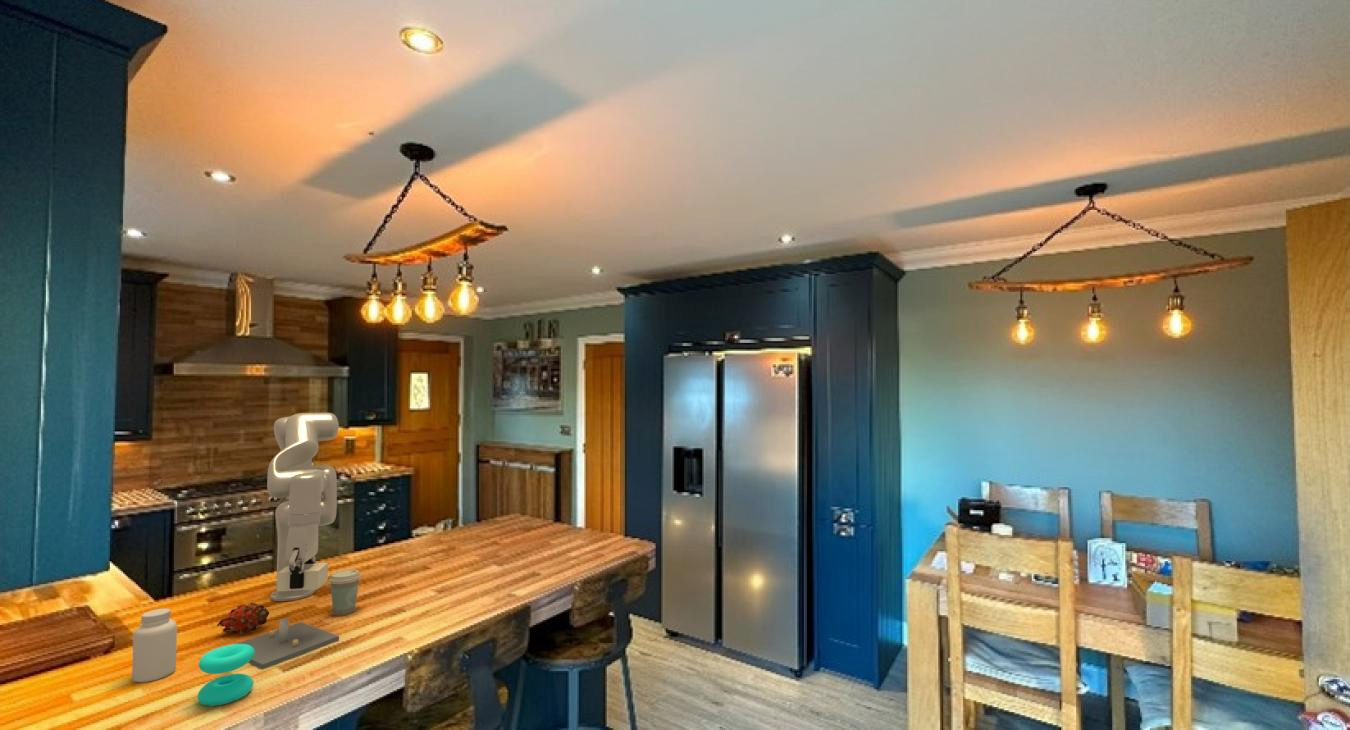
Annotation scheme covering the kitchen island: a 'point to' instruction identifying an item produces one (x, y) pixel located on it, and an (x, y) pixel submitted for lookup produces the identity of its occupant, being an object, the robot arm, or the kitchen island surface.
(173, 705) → the kitchen island surface
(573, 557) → the kitchen island surface
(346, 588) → the coffee cup
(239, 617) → the dragon fruit
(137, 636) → the pill bottle
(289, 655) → the pin plate
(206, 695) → the donuts
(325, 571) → the flange block
